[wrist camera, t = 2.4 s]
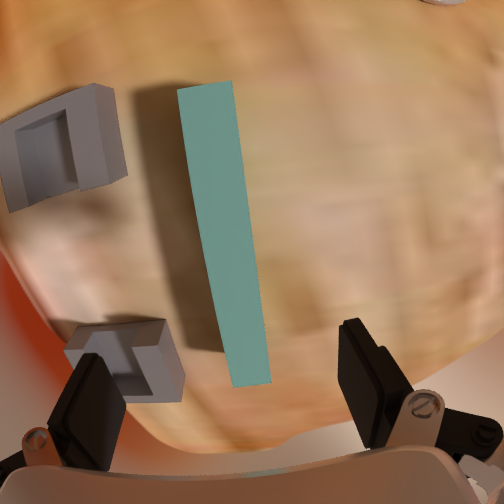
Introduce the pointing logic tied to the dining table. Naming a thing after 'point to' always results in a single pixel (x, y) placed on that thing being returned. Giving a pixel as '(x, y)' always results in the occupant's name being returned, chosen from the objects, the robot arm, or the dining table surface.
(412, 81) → the dining table surface
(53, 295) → the dining table surface
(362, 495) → the robot arm
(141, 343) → the end caps
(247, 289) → the slat
